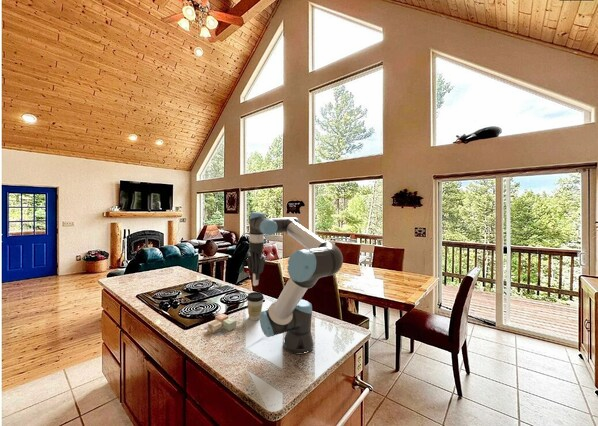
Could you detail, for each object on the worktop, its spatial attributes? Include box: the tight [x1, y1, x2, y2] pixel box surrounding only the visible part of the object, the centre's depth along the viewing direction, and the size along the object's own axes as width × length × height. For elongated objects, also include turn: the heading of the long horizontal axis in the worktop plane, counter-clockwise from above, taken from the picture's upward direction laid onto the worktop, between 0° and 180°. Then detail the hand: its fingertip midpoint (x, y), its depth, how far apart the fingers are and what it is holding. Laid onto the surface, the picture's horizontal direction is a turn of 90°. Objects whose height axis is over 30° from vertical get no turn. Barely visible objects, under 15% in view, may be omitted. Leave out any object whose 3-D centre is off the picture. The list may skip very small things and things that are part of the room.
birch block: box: [207, 320, 222, 335], centre depth 152 cm, size 5×5×4 cm
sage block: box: [223, 316, 238, 332], centre depth 156 cm, size 5×5×4 cm
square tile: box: [204, 325, 229, 337], centre depth 155 cm, size 12×12×1 cm
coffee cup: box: [246, 291, 265, 321], centre depth 167 cm, size 10×10×15 cm
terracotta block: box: [214, 312, 229, 325], centre depth 160 cm, size 5×5×4 cm
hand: (255, 284), depth 153 cm, fingers closed
